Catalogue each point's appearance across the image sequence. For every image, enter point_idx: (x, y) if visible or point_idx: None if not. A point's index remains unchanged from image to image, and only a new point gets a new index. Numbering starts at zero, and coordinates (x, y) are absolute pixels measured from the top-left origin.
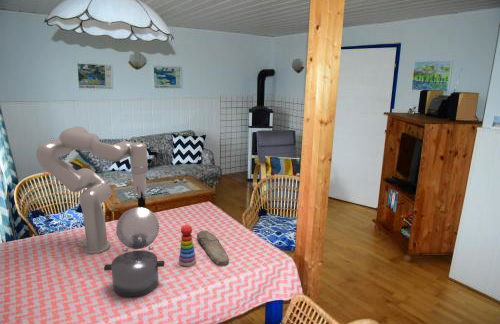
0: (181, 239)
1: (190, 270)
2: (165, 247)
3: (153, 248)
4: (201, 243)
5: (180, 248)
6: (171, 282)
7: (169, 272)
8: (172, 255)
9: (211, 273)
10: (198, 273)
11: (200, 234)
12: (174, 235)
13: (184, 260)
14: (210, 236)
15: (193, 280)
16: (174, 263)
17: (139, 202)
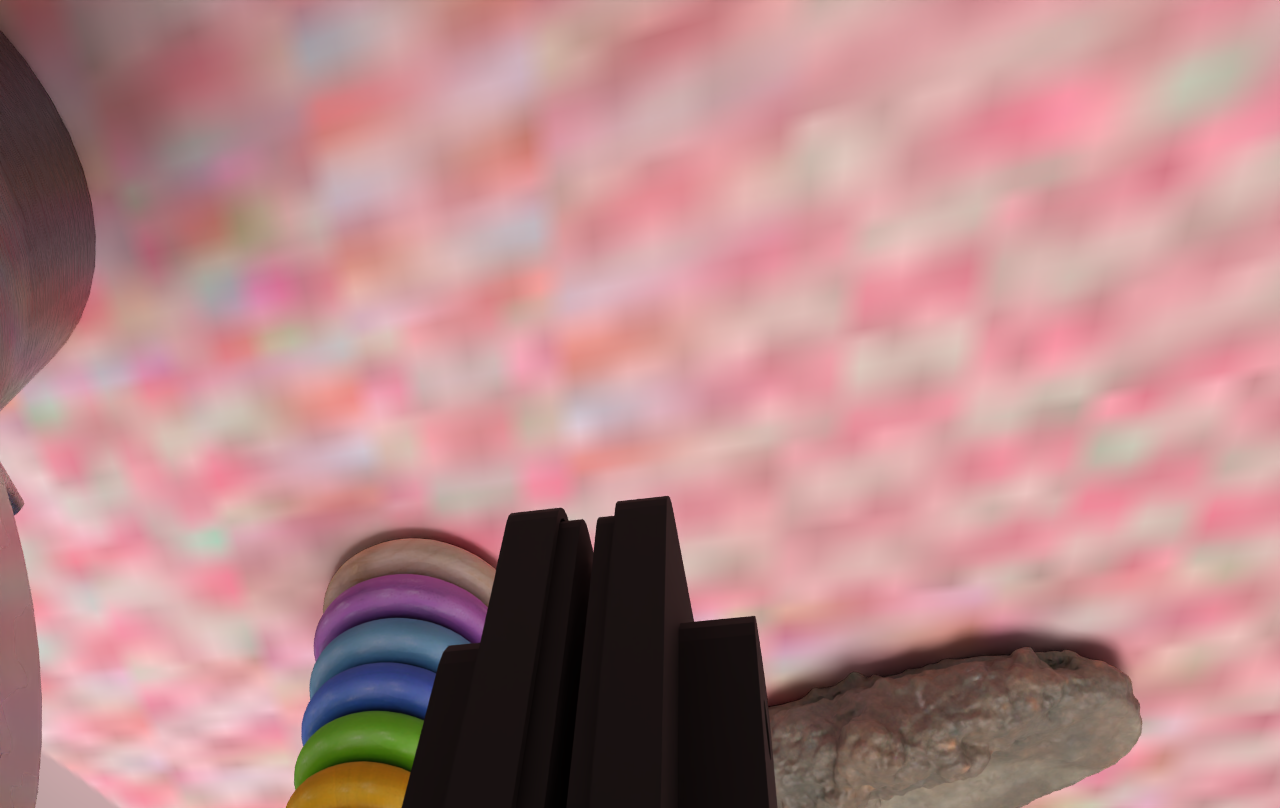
0: (362, 799)
1: (279, 641)
2: (794, 312)
3: (17, 503)
4: (788, 724)
5: (357, 691)
6: (15, 518)
7: (188, 469)
8: (571, 436)
9: (272, 787)
10: (245, 703)
11: (944, 748)
12: (1181, 362)
13: (315, 645)
14: (933, 804)
15: (118, 679)
16: (386, 486)
17: (418, 766)
